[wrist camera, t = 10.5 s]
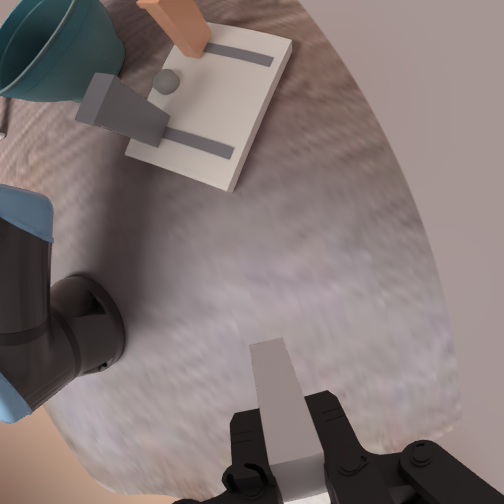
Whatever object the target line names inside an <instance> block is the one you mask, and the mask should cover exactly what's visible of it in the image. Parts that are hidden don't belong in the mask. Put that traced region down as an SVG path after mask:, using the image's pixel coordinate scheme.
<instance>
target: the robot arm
mask: <svg viewBox="0 0 504 504" xmlns="http://www.w3.org/2000/svg"><path fill="white" fill-rule="evenodd" d="M53 215H54V210H53V205H52V203H51V201H50V200H49V199H48V198H47V197H46V196H45V195H42V194H40V193H36V192H33V191H29V190H25V189H21V188H17V187H13V186H9V185H4V184H0V421H2V422H4V423H9V424H11V423H15V422H17V421H19V420H20V419H21V418H23V417H25V416H26V415H31V414H32V412H33V411H35V410H36V409H37V408H38V407H39V406H41V405H42V404H43V403H44V402H46V401H47V400H48V399H49V398H51V397H52V396H53V395H54V394H56V393H57V392H58V391H60V390H61V389H62V388H63V387H65V386H66V385H67V384H68V383H69V382H71V381H72V380H73V379H75V378H76V377H79V376H83V375H88V374H92V373H97V372H101V371H103V370H105V369H107V368H109V367H110V366H111V365H112V364H114V363H115V362H116V361H117V360H118V359H119V357H120V356H121V354H122V351H123V348H124V341H125V335H124V327H123V323H122V319H121V316H120V314H119V311H118V309H117V307H116V305H115V303H114V302H113V300H112V299H111V297H110V296H109V295H108V293H107V292H106V291H105V290H104V289H103V288H102V287H101V286H100V285H98V284H97V283H96V282H94V281H93V280H91V279H89V278H86V277H83V276H72V277H68V278H65V279H62V280H60V281H58V282H57V283H55V284H54V285H53V286H52V287H51V288H50V279H51V255H52V243H54V238H53V237H52V232H53ZM249 347H250V353H251V360H252V366H253V372H254V378H255V384H256V390H257V396H258V402H259V408H258V409H253V410H248V411H243V412H238V413H235V414H234V416H233V418H232V420H231V422H230V435H231V436H230V438H231V456H232V465H231V466H229V467H228V468H227V469H226V471H225V472H224V473H223V476H222V483H223V484H224V486H225V487H226V489H227V490H226V491H225V492H223V493H222V494H220V495H218V496H216V497H214V498H211V499H208V500H205V501H203V502H199V501H197V500H193V499H181V500H178V501H175V502H174V503H172V504H284V502H289V501H293V500H298V499H302V498H306V497H310V496H314V495H318V494H321V493H325V492H327V491H328V494H329V497H330V501H331V504H504V495H502V494H501V493H500V492H498V491H497V490H496V489H494V488H493V487H492V486H490V485H489V484H488V483H486V482H485V481H484V480H483V479H481V478H480V477H479V476H477V475H476V474H475V473H474V472H472V471H471V470H470V469H468V468H467V467H466V466H464V465H463V464H462V463H461V462H459V461H458V460H457V459H455V458H454V457H453V456H452V455H450V454H449V453H448V452H447V451H445V450H444V449H443V448H442V447H441V446H439V445H438V444H436V443H434V442H433V441H430V440H419V441H415V442H413V443H411V444H409V445H407V447H406V448H405V449H404V450H403V451H402V452H399V453H392V454H383V455H378V454H373V453H370V452H368V451H366V450H365V449H364V448H363V447H362V446H361V445H360V443H359V441H358V439H357V437H356V435H355V433H354V431H353V429H352V427H351V425H350V423H349V421H348V419H347V416H346V414H345V412H344V410H343V409H342V406H341V404H340V402H339V400H338V398H337V397H336V396H335V395H333V394H332V393H331V392H329V391H328V390H326V391H323V392H319V393H316V394H312V395H309V396H305V397H304V396H303V393H302V390H301V388H300V385H299V382H298V379H297V377H296V374H295V371H294V368H293V365H292V363H291V360H290V357H289V354H288V352H287V349H286V346H285V343H284V340H283V338H278V339H274V340H270V341H266V342H261V343H257V344H253V345H249Z"/></svg>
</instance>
